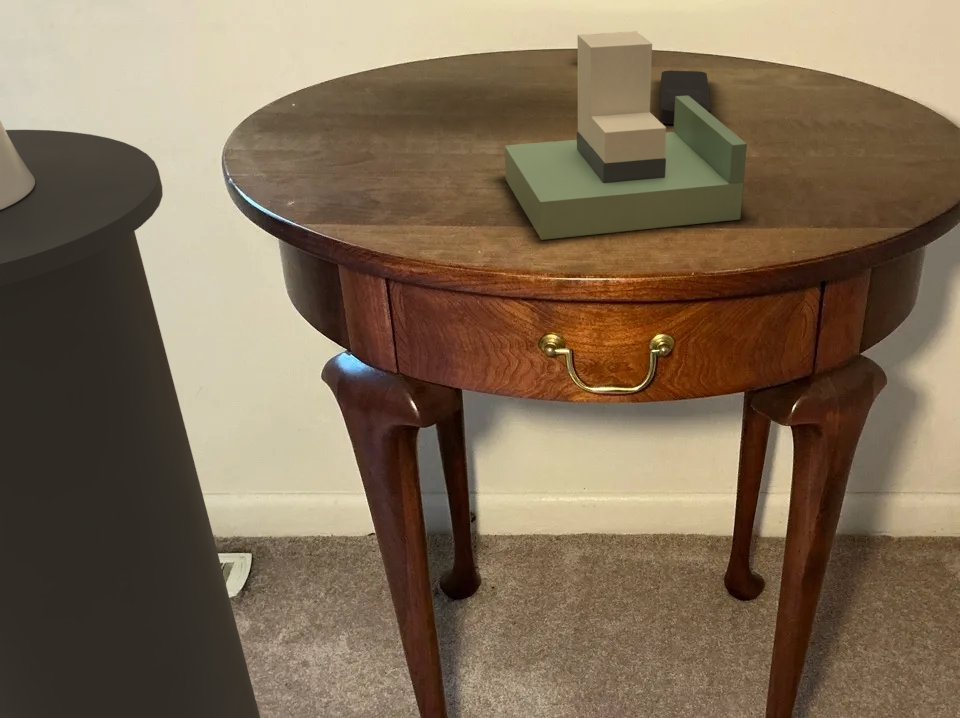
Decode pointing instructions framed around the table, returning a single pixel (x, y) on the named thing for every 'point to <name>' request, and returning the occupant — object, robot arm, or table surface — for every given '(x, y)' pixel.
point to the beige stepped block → (618, 108)
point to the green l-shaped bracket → (632, 182)
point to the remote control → (682, 91)
